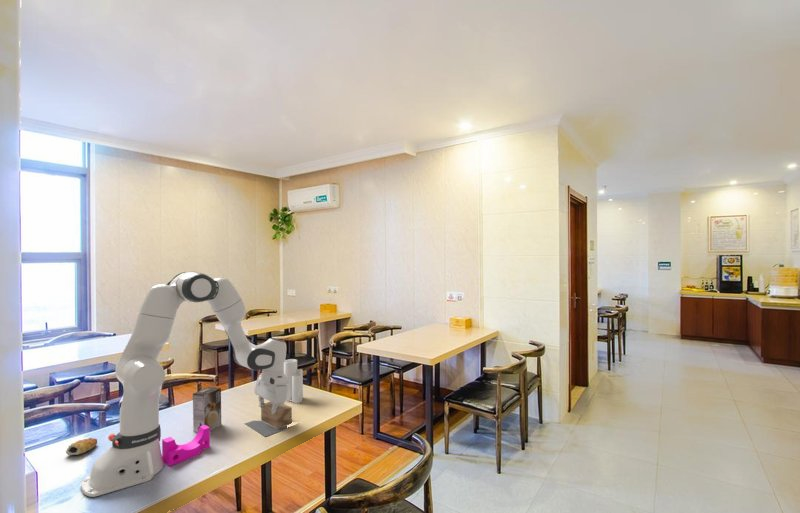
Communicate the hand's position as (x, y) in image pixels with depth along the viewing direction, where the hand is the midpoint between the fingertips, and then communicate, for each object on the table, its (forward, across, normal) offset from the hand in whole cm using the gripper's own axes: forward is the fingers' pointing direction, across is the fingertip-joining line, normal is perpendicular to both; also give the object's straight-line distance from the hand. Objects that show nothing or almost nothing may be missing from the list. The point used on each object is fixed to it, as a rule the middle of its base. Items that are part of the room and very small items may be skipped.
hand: (267, 410), depth 164 cm
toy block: (+12, 0, -29) cm, 32 cm away
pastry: (+17, -32, -51) cm, 63 cm away
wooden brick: (+6, 0, +5) cm, 8 cm away
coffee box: (+10, -17, -16) cm, 26 cm away
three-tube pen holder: (+3, -16, +24) cm, 29 cm away
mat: (+5, 0, +10) cm, 12 cm away
